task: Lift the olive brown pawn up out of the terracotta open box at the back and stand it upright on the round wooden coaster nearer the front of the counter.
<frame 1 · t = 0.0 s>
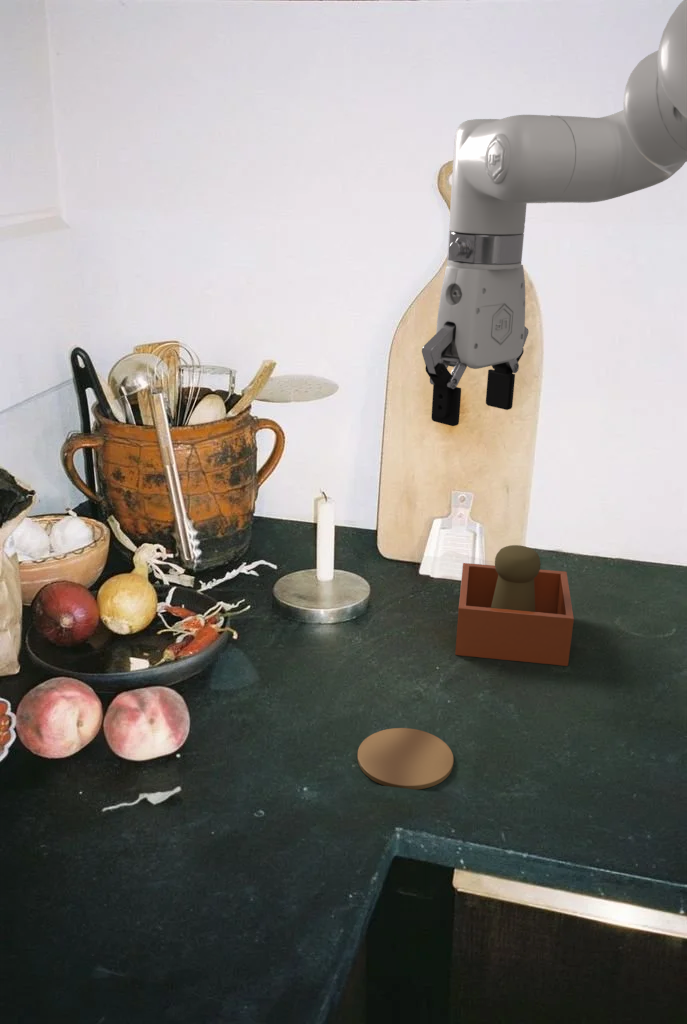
hand: (472, 414, 101), 27 cm above the worktop, tool pointing down, fingers open, 9 cm apart
coaster: (405, 759, 88), on the worktop
olive brown pawn: (510, 635, 112), resting in terracotta open box
terracotta open box: (510, 634, 111), on the worktop
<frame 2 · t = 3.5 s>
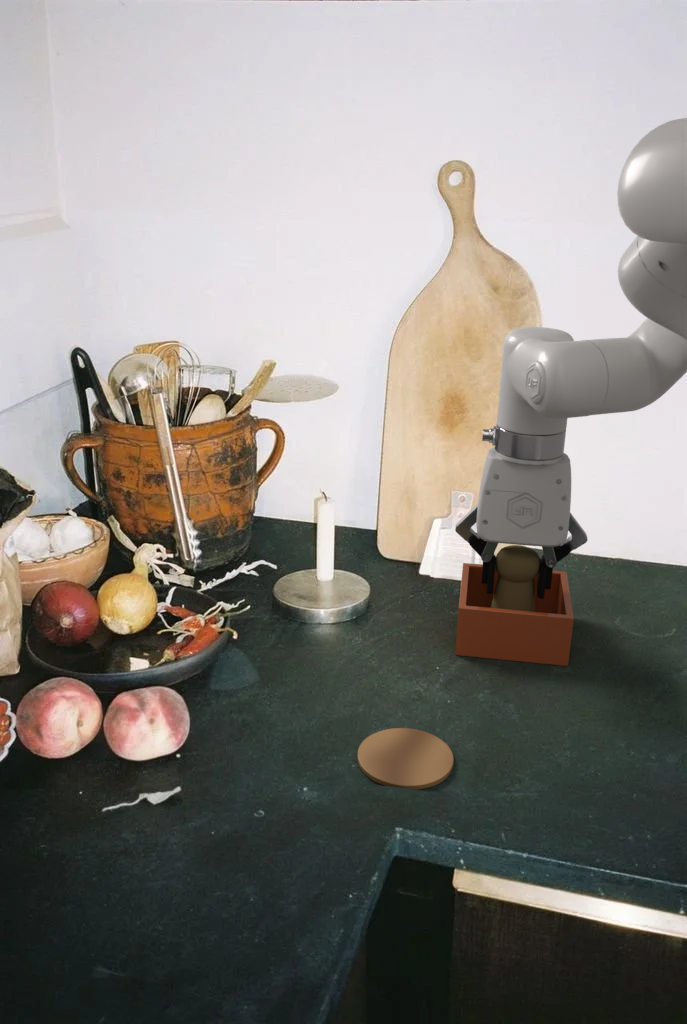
hand: (515, 590, 109), 6 cm above the worktop, tool pointing down, fingers closed on olive brown pawn, 5 cm apart
olive brown pawn: (510, 635, 112), resting in terracotta open box, touching gripper
when the fingers open (6 cm above the worktop, at t = 10.7 s): olive brown pawn stays where it is, resting on coaster.
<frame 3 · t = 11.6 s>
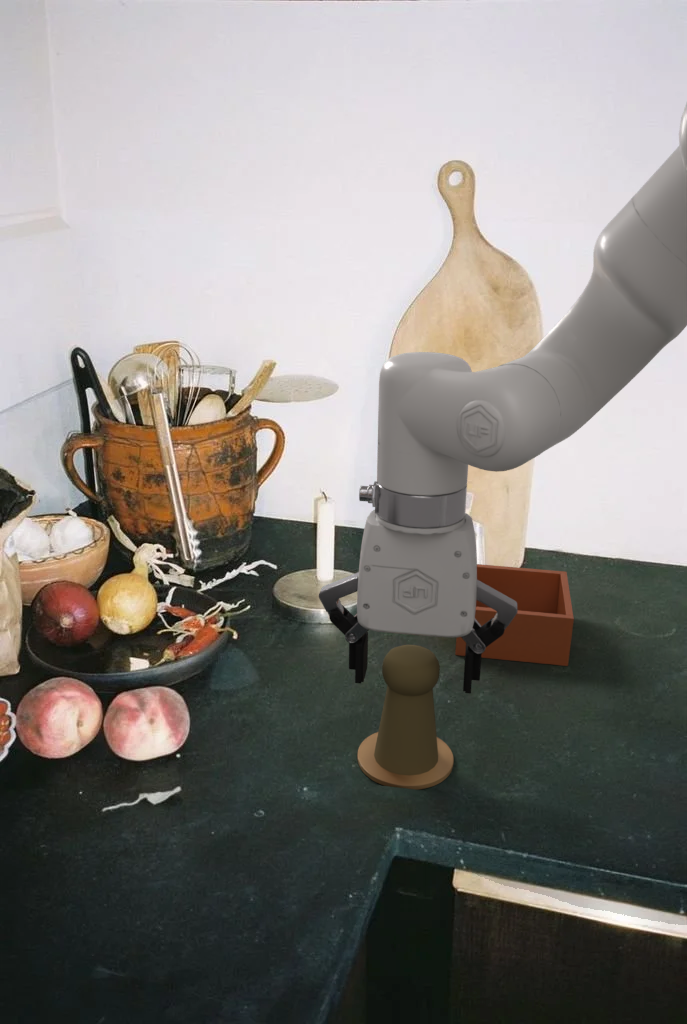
hand: (413, 680, 85), 9 cm above the worktop, tool pointing down, fingers open, 9 cm apart
olive brown pawn: (406, 757, 88), resting on coaster
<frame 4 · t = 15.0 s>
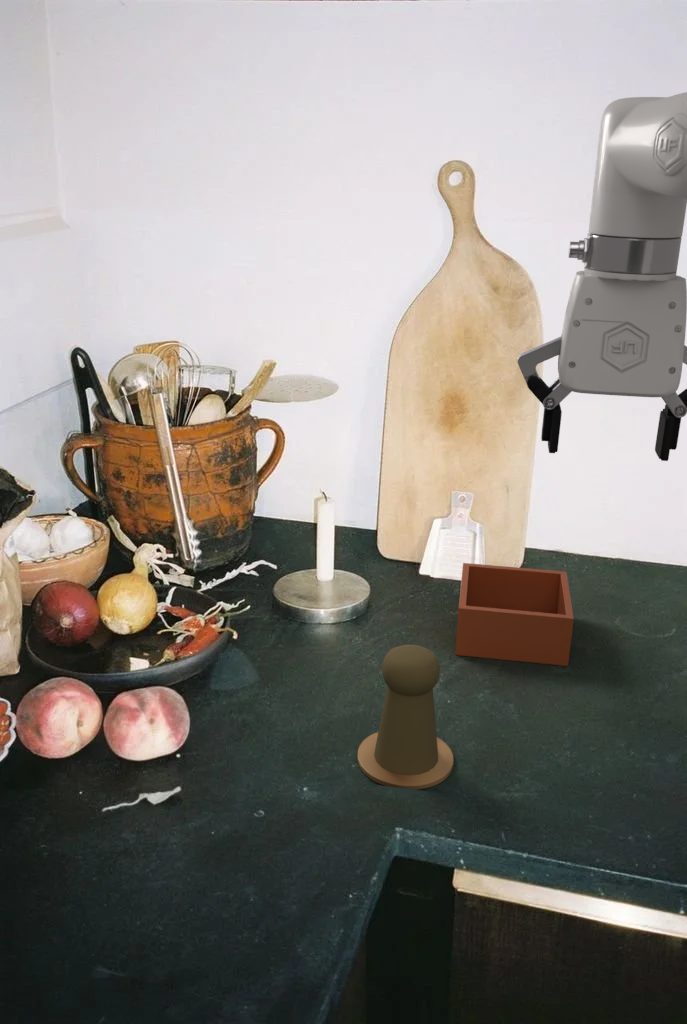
hand: (606, 452, 85), 28 cm above the worktop, tool pointing down, fingers open, 9 cm apart
nothing on the worktop moved.
at the end: olive brown pawn 0.1 cm off-centre on the coaster, point 0.3 cm above the coaster's base; olive brown pawn tilted 0°; olive brown pawn touching coaster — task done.
